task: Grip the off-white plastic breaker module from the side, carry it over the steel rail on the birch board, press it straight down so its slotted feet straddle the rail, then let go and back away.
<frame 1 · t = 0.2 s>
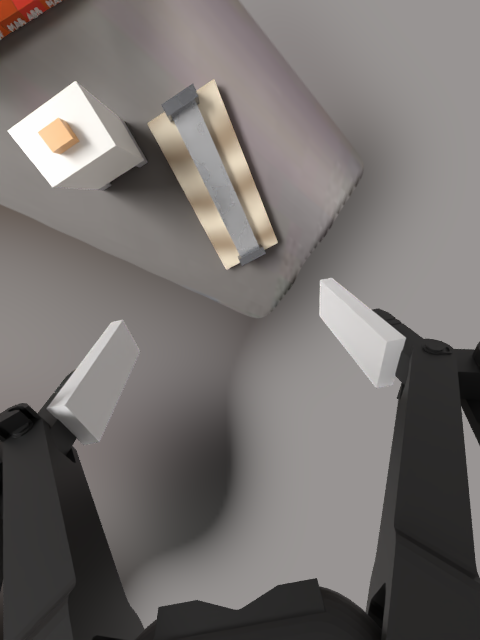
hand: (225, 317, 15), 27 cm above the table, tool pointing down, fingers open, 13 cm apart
breaker module: (113, 157, 32), on the table
chart: (3, 18, 25), on the table
steel rail: (221, 190, 33), on the rail board, point 2 cm above the table
rail board: (221, 191, 35), on the table
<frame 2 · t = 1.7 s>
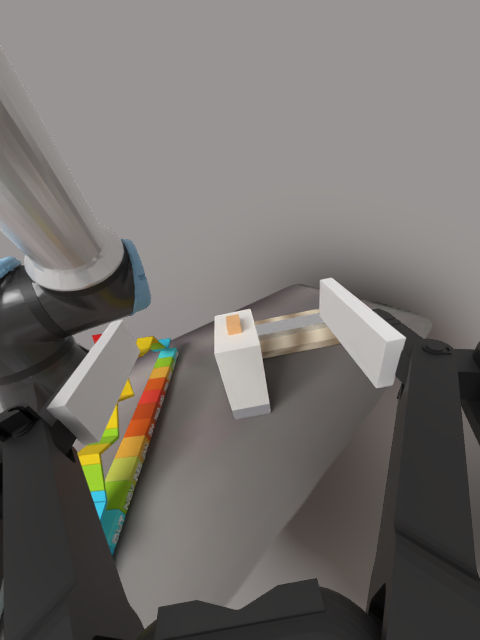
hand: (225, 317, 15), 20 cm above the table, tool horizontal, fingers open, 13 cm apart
breaker module: (249, 392, 34), on the table
chart: (147, 427, 32), on the table
steel rail: (293, 323, 42), on the rail board, point 3 cm above the table
rail board: (293, 334, 43), on the table
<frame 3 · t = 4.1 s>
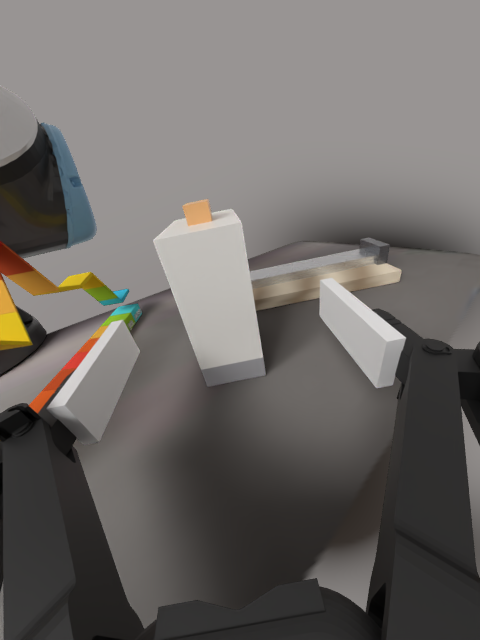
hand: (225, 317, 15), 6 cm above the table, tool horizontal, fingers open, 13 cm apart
breaker module: (233, 350, 22), on the table
chart: (72, 404, 20), on the table
steel rail: (297, 266, 30), on the rail board, point 2 cm above the table
rail board: (298, 284, 32), on the table
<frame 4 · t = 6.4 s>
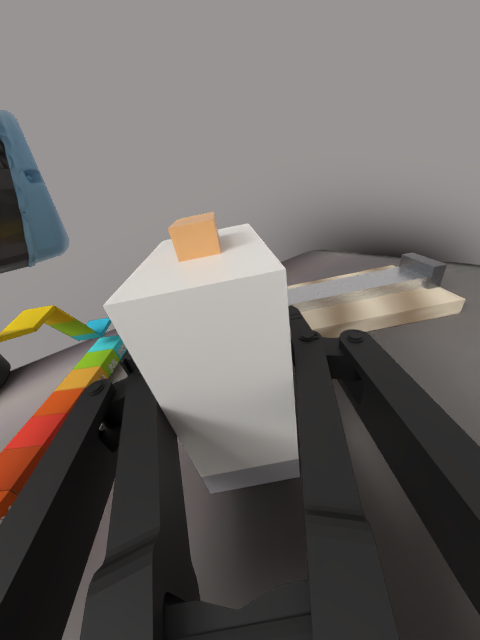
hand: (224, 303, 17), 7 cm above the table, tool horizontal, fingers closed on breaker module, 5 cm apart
breaker module: (246, 419, 16), on the table, touching gripper
chart: (14, 506, 14), on the table
steel rail: (324, 289, 24), on the rail board, point 2 cm above the table
rail board: (323, 310, 25), on the table
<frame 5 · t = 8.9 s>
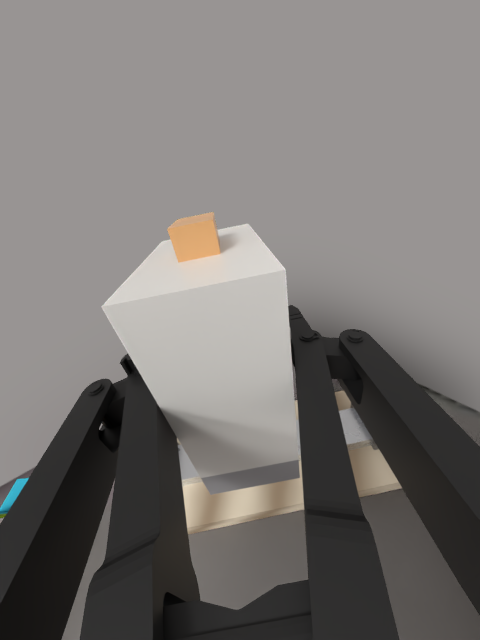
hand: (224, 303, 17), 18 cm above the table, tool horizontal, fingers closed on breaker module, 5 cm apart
breaker module: (246, 420, 16), point 11 cm above the table, touching gripper
steel rail: (268, 442, 23), on the rail board, point 3 cm above the table
rail board: (271, 455, 24), on the table
when the fingers open (8 cm above the table, at t = 11.6 s): breaker module stays where it is, resting on rail board.
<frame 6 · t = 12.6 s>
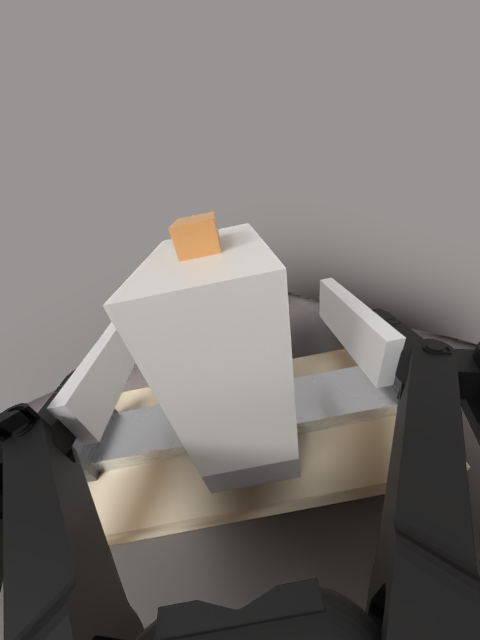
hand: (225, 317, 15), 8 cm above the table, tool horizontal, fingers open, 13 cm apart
breaker module: (246, 419, 16), point 1 cm above the table, touching rail board
steel rail: (243, 408, 15), on the rail board, point 3 cm above the table
rail board: (249, 431, 16), on the table
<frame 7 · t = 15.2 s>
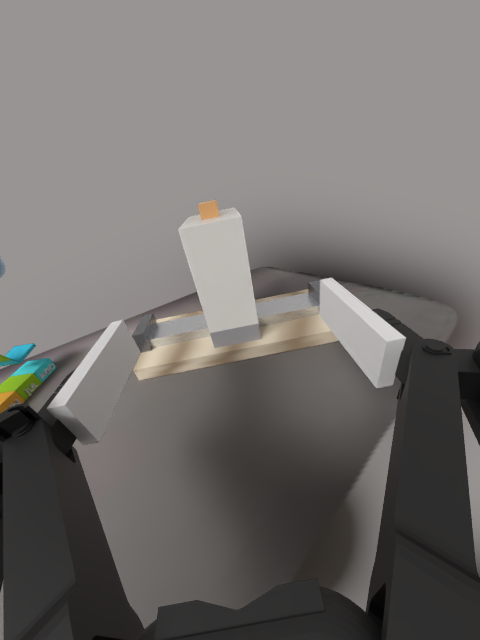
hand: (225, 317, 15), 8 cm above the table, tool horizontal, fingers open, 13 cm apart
breaker module: (235, 323, 27), point 1 cm above the table, touching rail board
steel rail: (232, 315, 26), on the rail board, point 2 cm above the table
rail board: (237, 333, 28), on the table
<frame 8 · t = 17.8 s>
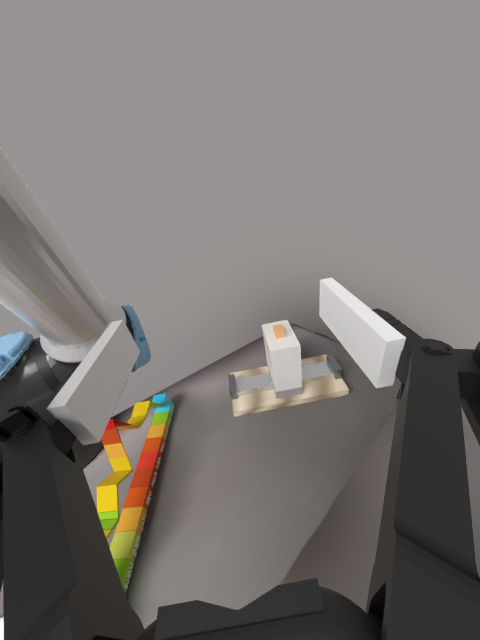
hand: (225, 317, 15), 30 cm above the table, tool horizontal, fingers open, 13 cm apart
breaker module: (283, 380, 46), point 1 cm above the table, touching rail board
chart: (145, 492, 35), on the table
steel rail: (283, 376, 45), on the rail board, point 2 cm above the table
rail board: (284, 385, 47), on the table
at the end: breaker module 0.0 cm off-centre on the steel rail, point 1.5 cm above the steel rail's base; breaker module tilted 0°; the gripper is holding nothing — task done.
